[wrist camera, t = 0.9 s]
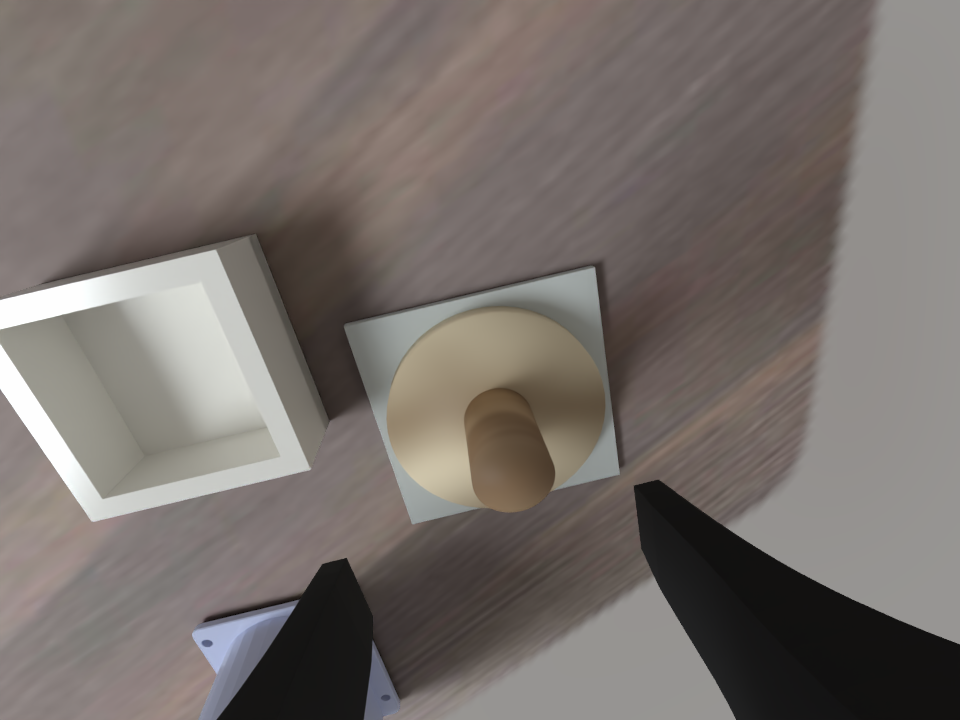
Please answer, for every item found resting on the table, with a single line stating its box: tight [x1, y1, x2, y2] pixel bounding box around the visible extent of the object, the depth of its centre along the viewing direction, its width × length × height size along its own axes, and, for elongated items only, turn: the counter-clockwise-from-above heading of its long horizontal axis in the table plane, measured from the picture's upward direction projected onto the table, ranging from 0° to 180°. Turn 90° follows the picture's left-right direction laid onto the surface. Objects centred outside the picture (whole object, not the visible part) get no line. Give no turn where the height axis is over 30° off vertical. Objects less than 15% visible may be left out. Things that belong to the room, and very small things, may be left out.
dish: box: [0, 234, 330, 522], centre depth 17 cm, size 8×8×4 cm
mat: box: [344, 265, 620, 524], centre depth 21 cm, size 10×10×1 cm
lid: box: [386, 306, 606, 512], centre depth 18 cm, size 9×9×5 cm
